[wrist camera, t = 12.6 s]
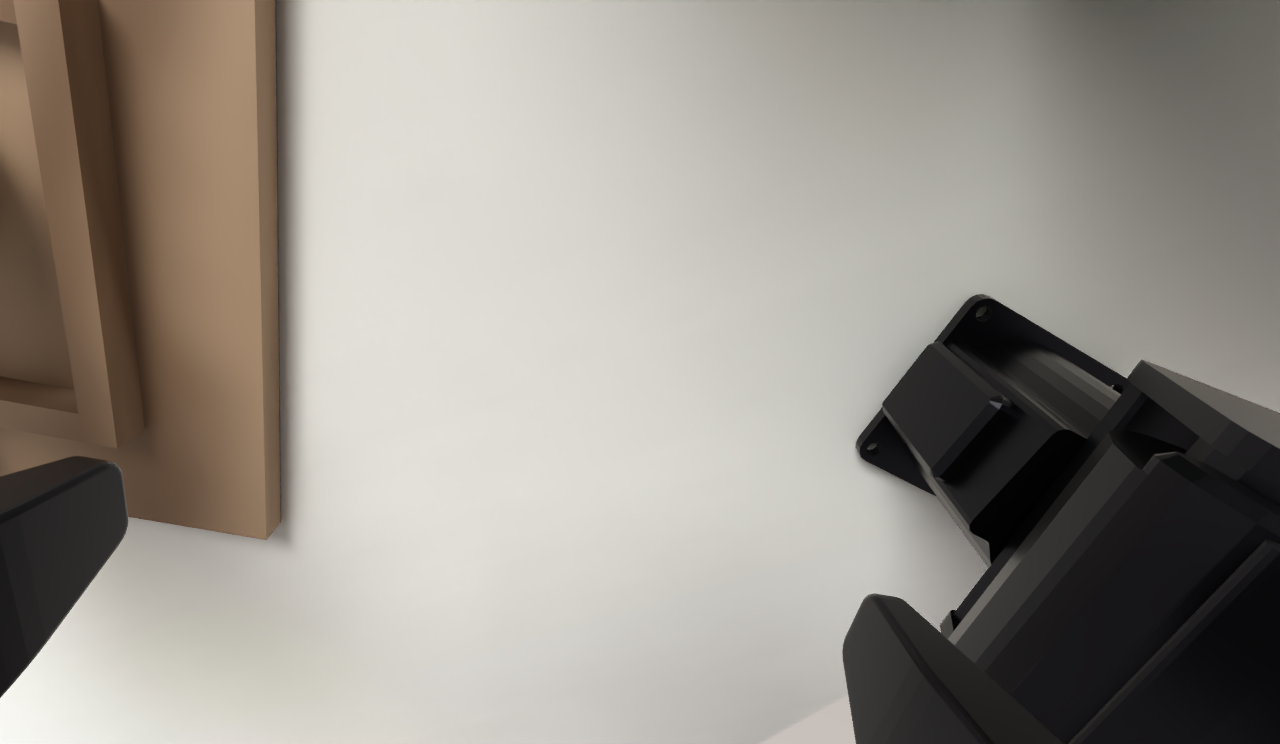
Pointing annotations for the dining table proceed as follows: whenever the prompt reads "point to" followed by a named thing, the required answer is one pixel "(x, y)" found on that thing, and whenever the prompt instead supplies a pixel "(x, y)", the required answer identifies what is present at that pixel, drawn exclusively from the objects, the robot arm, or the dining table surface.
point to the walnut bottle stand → (143, 251)
